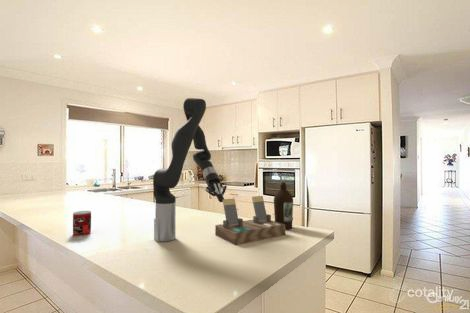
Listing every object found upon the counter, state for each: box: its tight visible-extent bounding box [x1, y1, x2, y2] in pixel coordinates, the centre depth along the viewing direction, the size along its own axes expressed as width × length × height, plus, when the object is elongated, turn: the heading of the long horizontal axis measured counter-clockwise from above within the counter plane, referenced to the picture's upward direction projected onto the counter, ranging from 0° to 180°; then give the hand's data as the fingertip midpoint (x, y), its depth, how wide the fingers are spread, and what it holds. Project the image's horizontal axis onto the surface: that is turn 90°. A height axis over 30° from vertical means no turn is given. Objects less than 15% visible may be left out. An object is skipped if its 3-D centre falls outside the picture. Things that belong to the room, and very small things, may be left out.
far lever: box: [251, 195, 267, 222], centre depth 139 cm, size 6×2×13 cm, turn 122°
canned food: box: [72, 210, 92, 237], centre depth 133 cm, size 8×8×11 cm
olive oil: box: [273, 181, 294, 231], centre depth 146 cm, size 11×11×25 cm
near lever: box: [222, 197, 239, 227], centre depth 130 cm, size 6×2×13 cm, turn 122°
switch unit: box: [214, 213, 286, 246], centre depth 131 cm, size 30×18×8 cm, turn 122°
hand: (222, 201), depth 137 cm, fingers closed
